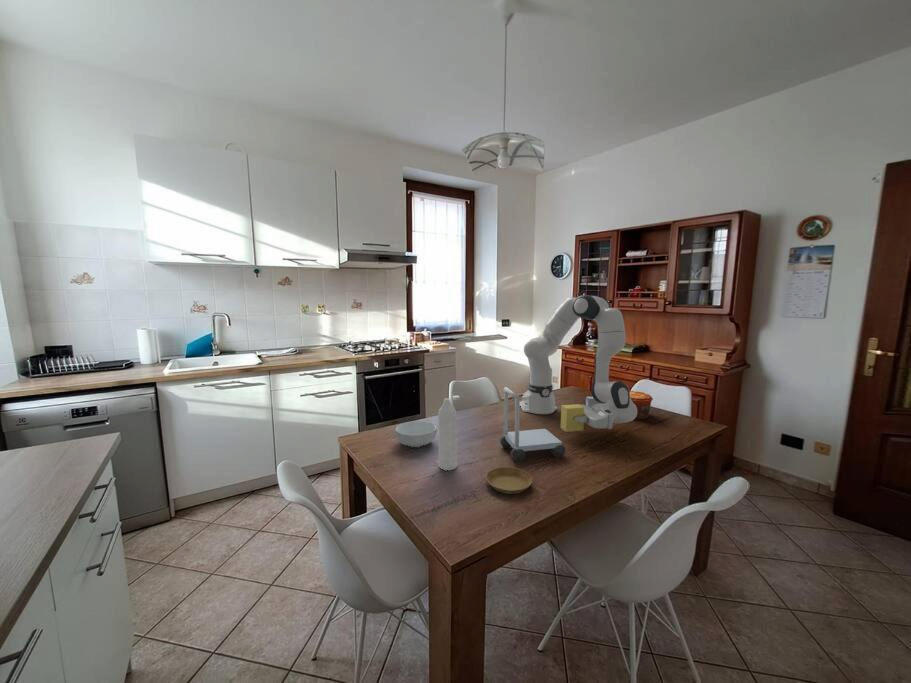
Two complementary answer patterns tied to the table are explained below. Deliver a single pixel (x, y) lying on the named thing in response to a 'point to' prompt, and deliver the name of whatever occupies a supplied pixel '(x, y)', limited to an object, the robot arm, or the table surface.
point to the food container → (641, 403)
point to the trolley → (527, 435)
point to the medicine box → (591, 402)
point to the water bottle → (447, 435)
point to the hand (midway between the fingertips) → (570, 416)
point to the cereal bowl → (416, 433)
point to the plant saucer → (509, 480)
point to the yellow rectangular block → (571, 417)
